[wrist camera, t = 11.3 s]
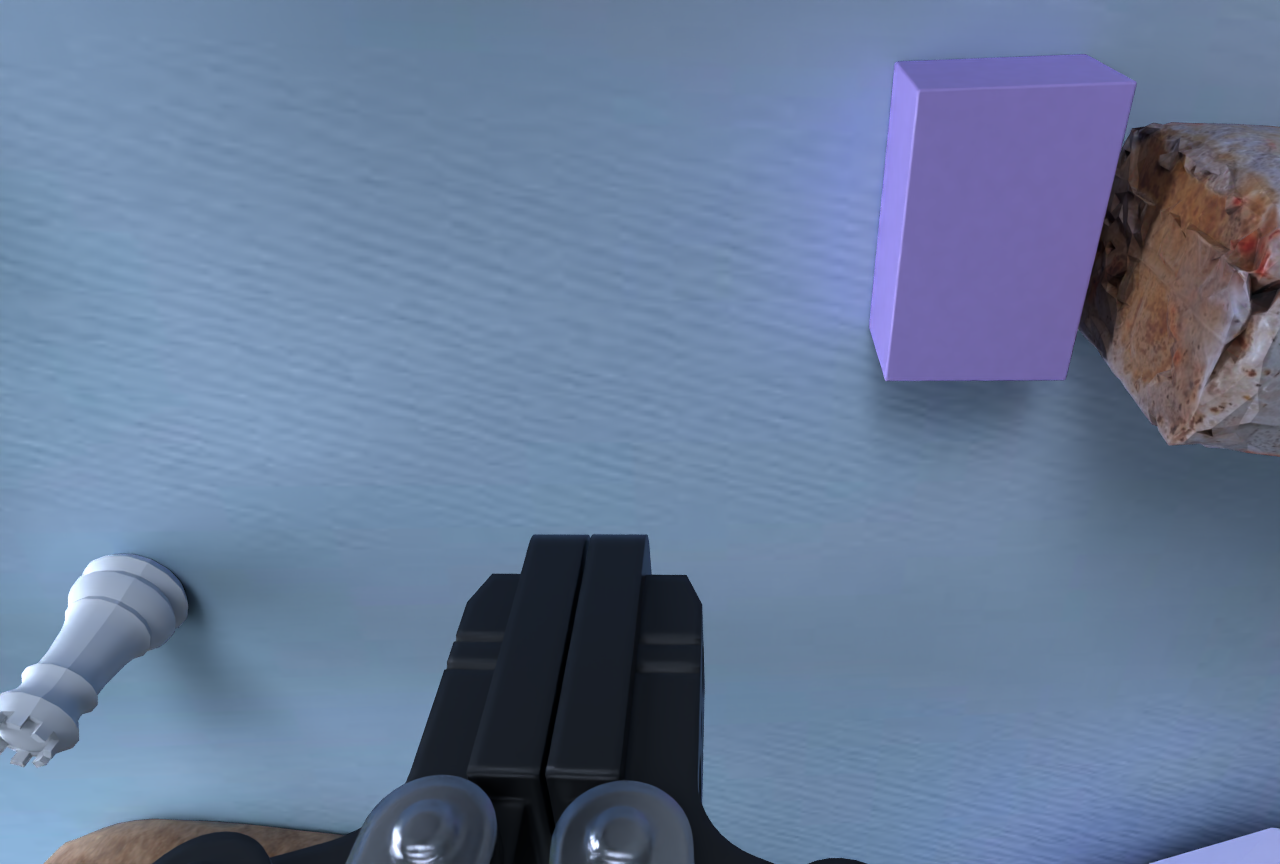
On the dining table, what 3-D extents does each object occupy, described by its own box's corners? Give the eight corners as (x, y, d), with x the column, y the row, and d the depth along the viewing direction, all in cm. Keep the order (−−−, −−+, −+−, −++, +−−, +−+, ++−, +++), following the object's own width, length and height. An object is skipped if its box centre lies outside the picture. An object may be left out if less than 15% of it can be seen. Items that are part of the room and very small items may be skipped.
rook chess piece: (100, 530, 36) (-43, 683, 29) (206, 577, 37) (91, 736, 30) (80, 596, 38) (-58, 753, 32) (180, 639, 39) (67, 800, 33)
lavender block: (894, 61, 24) (917, 89, 21) (1087, 53, 23) (1138, 81, 20) (868, 327, 28) (884, 382, 25) (1030, 326, 28) (1066, 381, 25)
